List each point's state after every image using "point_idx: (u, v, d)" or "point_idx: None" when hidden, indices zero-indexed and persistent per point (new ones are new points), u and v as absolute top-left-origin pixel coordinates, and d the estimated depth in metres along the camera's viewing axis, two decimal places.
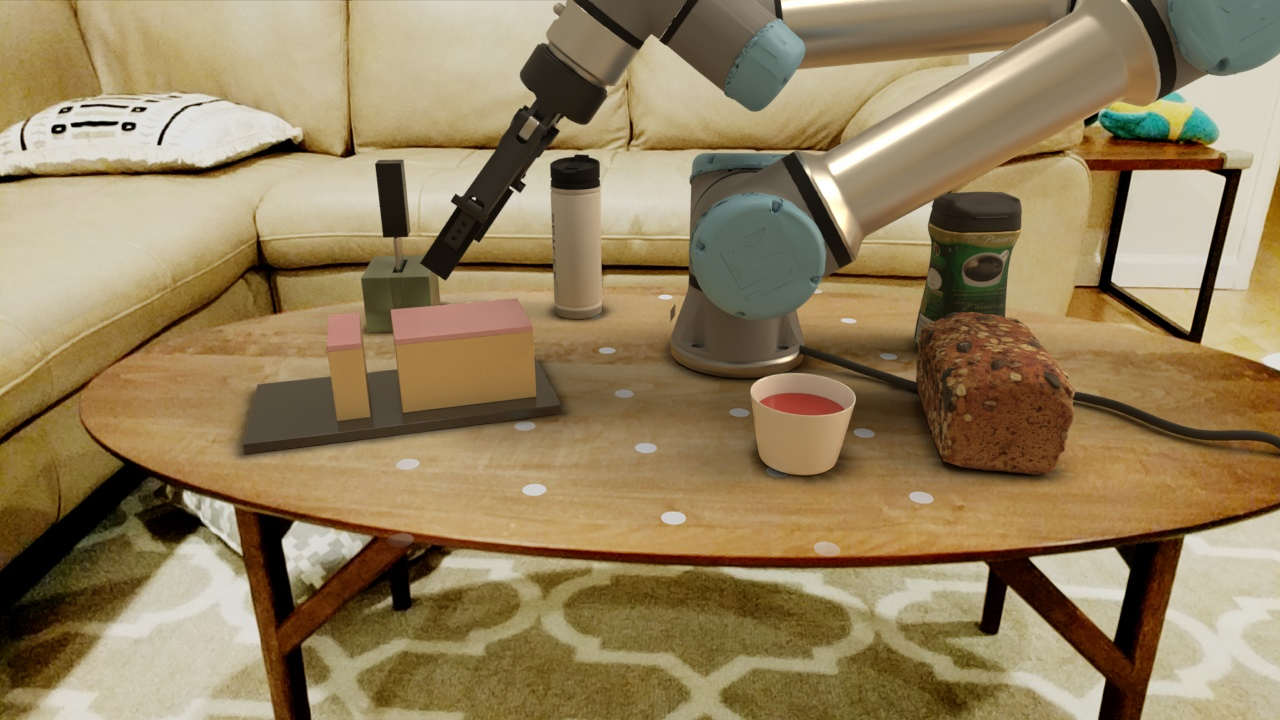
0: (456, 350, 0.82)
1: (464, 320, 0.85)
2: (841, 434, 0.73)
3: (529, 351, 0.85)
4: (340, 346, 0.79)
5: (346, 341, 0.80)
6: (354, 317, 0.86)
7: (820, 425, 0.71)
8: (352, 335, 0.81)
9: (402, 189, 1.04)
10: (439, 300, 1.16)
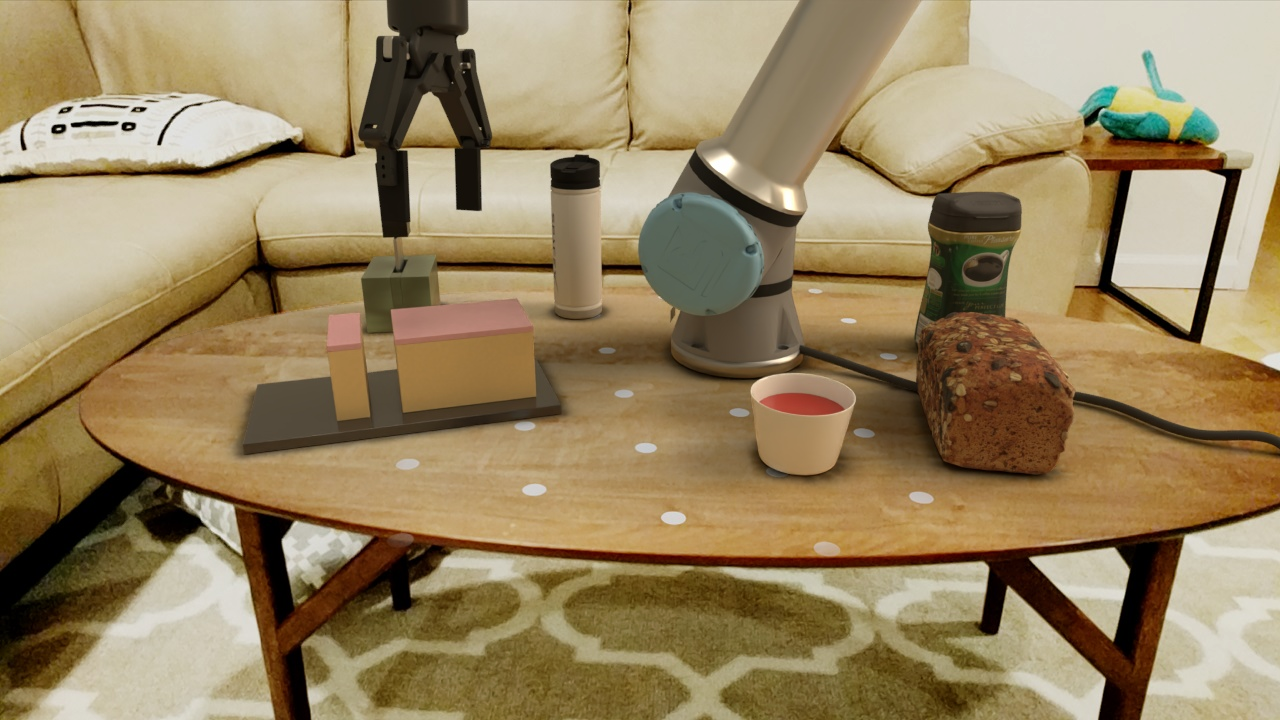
0: (456, 350, 0.82)
1: (464, 320, 0.85)
2: (841, 434, 0.73)
3: (529, 351, 0.85)
4: (340, 346, 0.79)
5: (346, 341, 0.80)
6: (354, 317, 0.86)
7: (820, 425, 0.71)
8: (352, 335, 0.81)
9: None
10: (439, 300, 1.16)
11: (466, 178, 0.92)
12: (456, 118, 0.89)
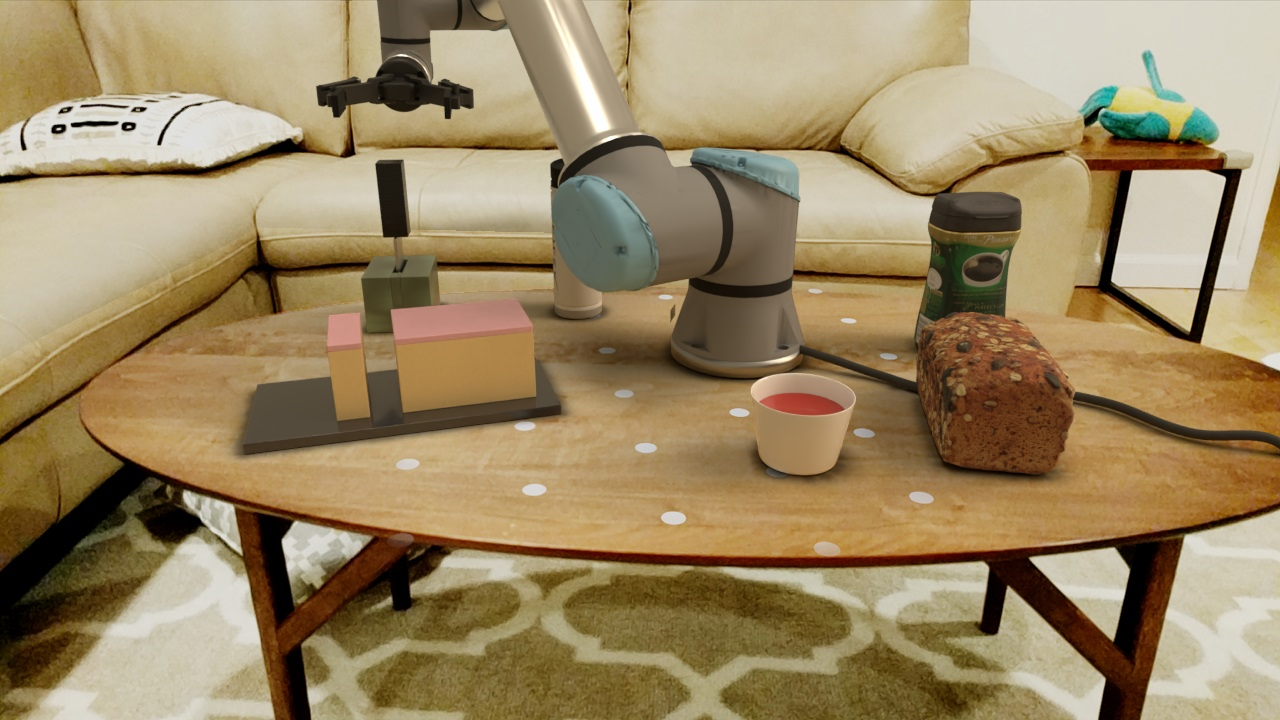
0: (456, 350, 0.82)
1: (464, 320, 0.85)
2: (841, 434, 0.73)
3: (529, 351, 0.85)
4: (340, 346, 0.79)
5: (346, 341, 0.80)
6: (354, 317, 0.86)
7: (820, 425, 0.71)
8: (352, 335, 0.81)
9: (402, 189, 1.04)
10: (439, 300, 1.16)
11: None
12: (435, 96, 1.18)
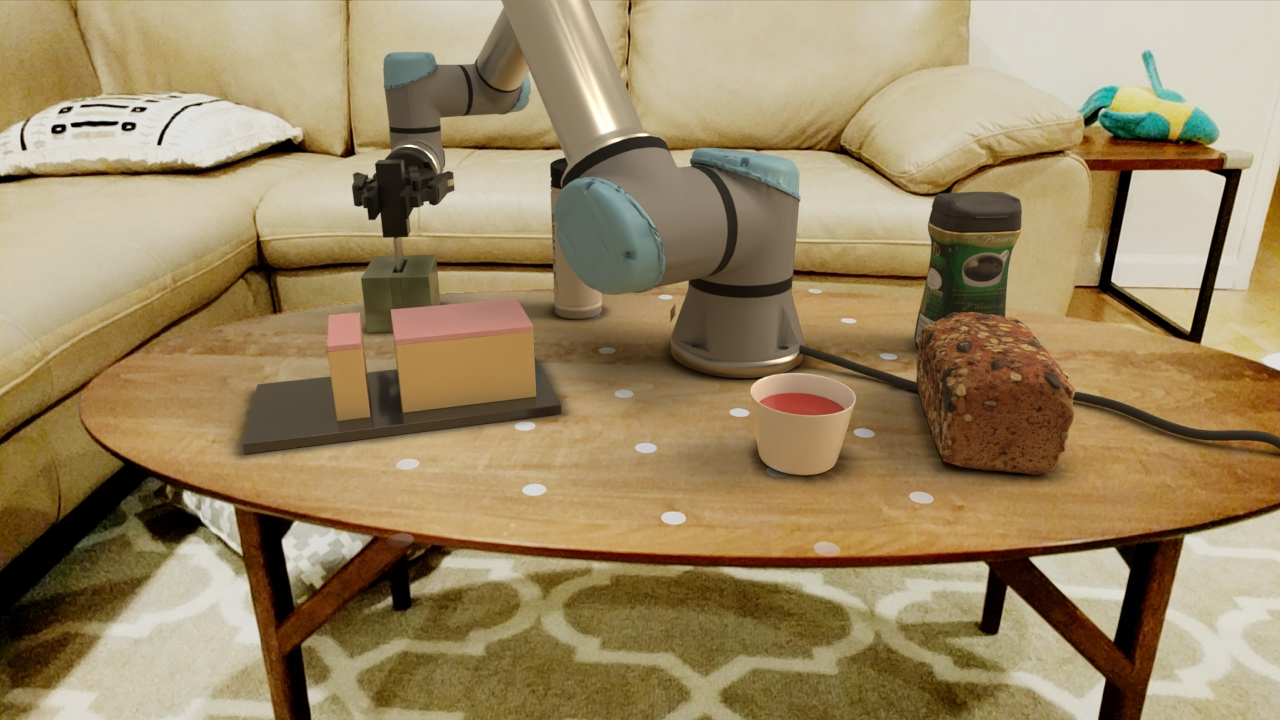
0: (456, 350, 0.82)
1: (464, 320, 0.85)
2: (841, 434, 0.73)
3: (529, 351, 0.85)
4: (340, 346, 0.79)
5: (346, 341, 0.80)
6: (354, 317, 0.86)
7: (820, 425, 0.71)
8: (352, 335, 0.81)
9: (402, 189, 1.04)
10: (439, 300, 1.16)
11: None
12: None
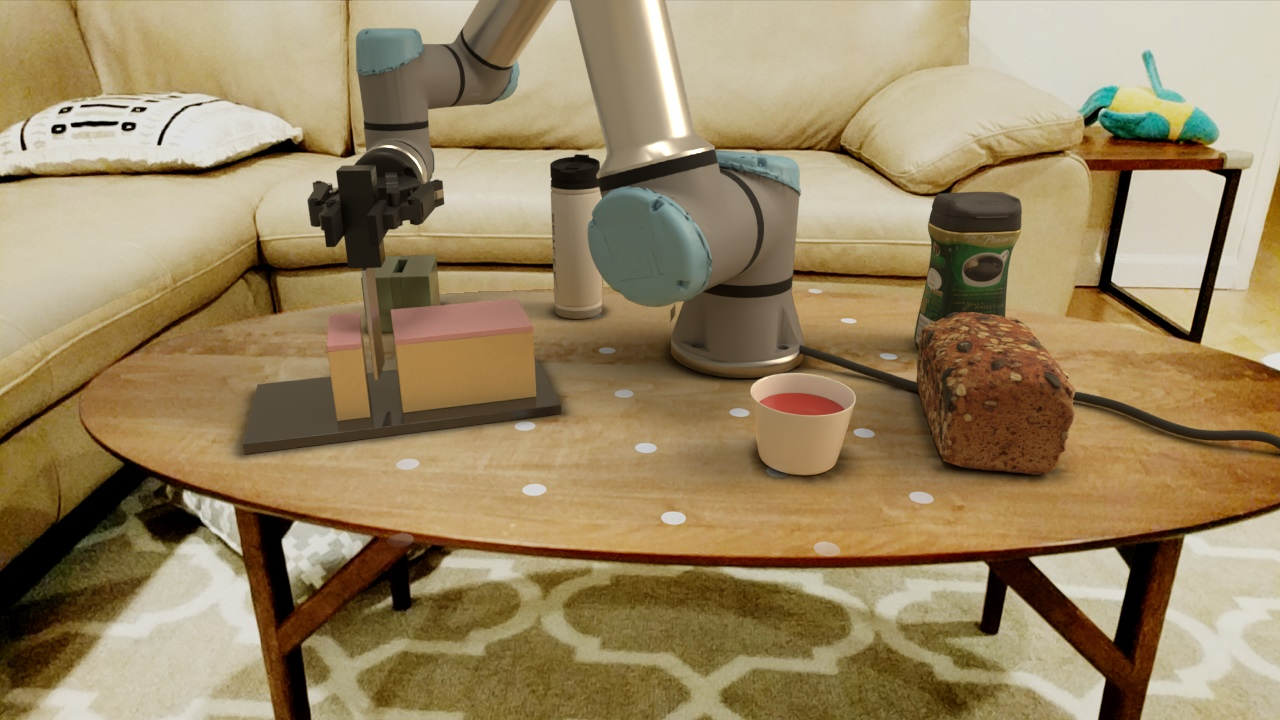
0: (456, 350, 0.82)
1: (464, 320, 0.85)
2: (841, 434, 0.73)
3: (529, 351, 0.85)
4: (340, 346, 0.79)
5: (346, 341, 0.80)
6: (354, 317, 0.86)
7: (820, 425, 0.71)
8: (352, 335, 0.81)
9: (373, 205, 0.78)
10: (439, 300, 1.16)
11: None
12: None
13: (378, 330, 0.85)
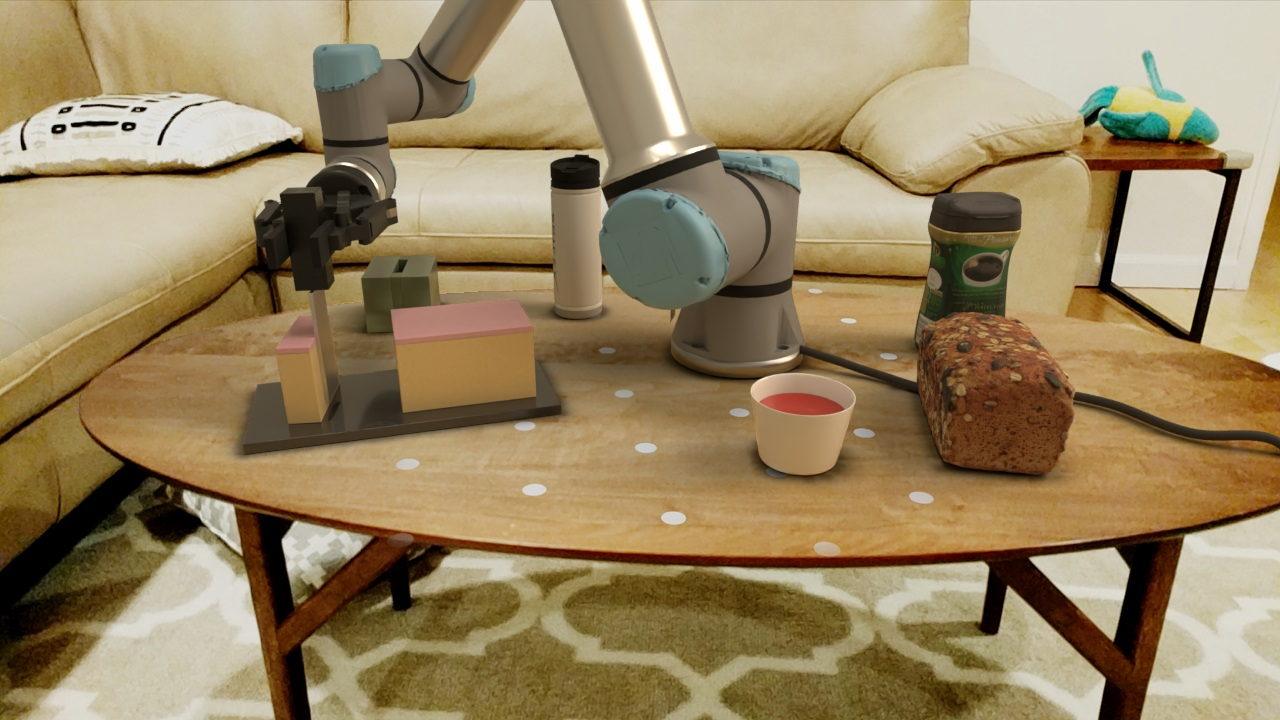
0: (456, 350, 0.82)
1: (464, 320, 0.85)
2: (841, 434, 0.73)
3: (529, 351, 0.85)
4: (288, 349, 0.78)
5: (296, 344, 0.79)
6: None
7: (820, 425, 0.71)
8: (306, 338, 0.80)
9: None
10: (439, 300, 1.16)
11: None
12: None
13: (329, 352, 0.84)
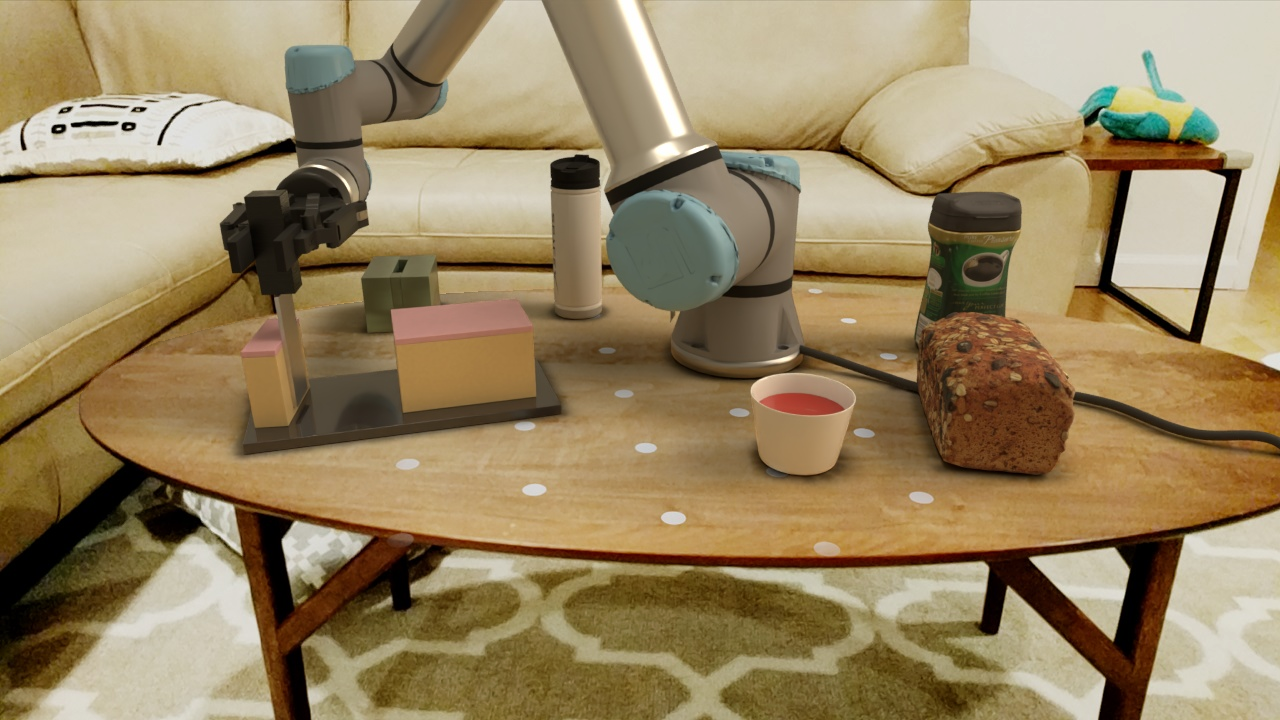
0: (456, 350, 0.82)
1: (464, 320, 0.85)
2: (841, 434, 0.73)
3: (529, 351, 0.85)
4: (254, 353, 0.77)
5: (262, 348, 0.78)
6: None
7: (820, 425, 0.71)
8: (272, 341, 0.79)
9: None
10: (439, 300, 1.16)
11: None
12: None
13: (298, 356, 0.83)
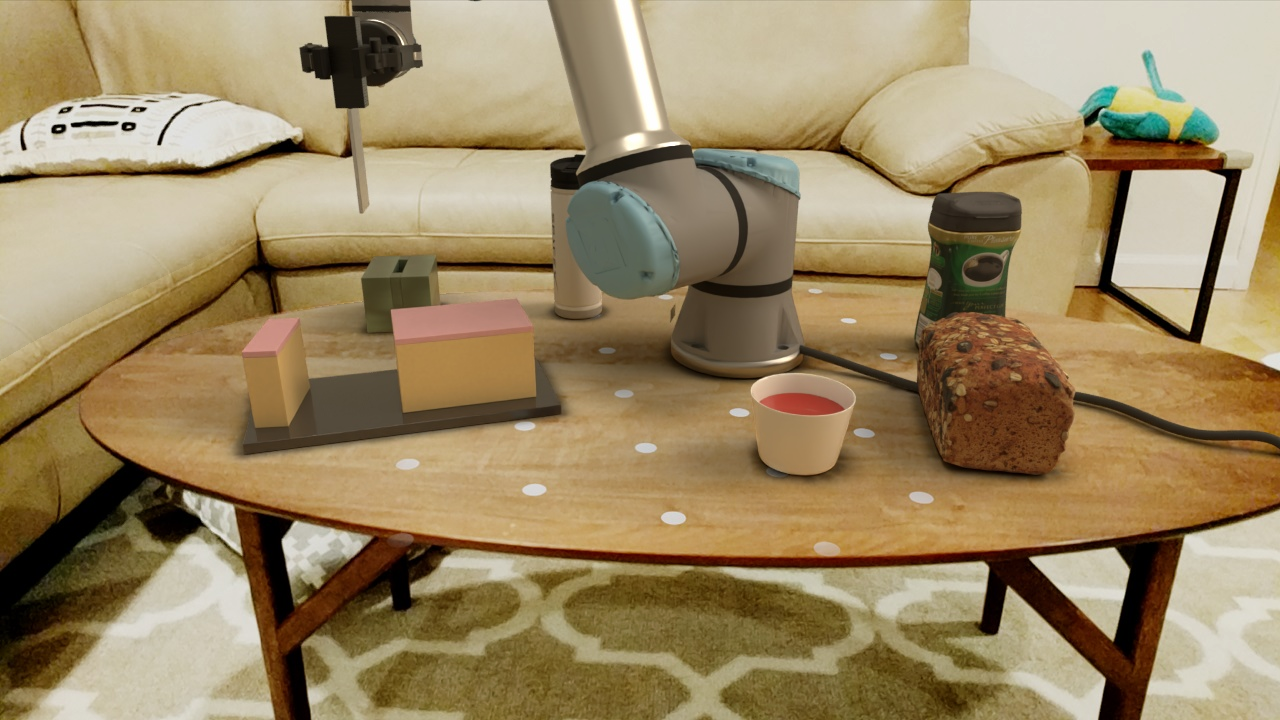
0: (456, 350, 0.82)
1: (464, 320, 0.85)
2: (841, 434, 0.73)
3: (529, 351, 0.85)
4: (255, 353, 0.77)
5: (263, 348, 0.78)
6: (290, 323, 0.84)
7: (820, 425, 0.71)
8: (273, 342, 0.79)
9: None
10: (439, 300, 1.16)
11: None
12: None
13: (363, 171, 0.95)
